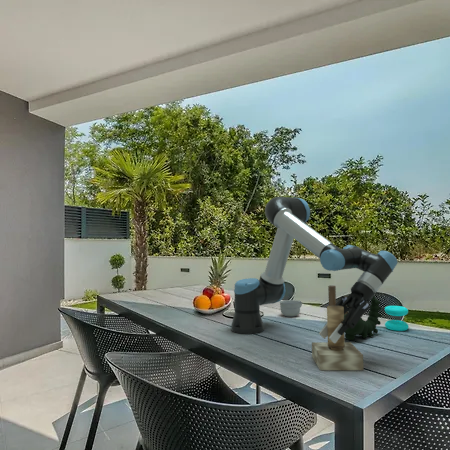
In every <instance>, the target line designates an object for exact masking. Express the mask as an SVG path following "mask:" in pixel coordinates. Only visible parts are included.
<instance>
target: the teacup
mask: <svg viewBox="0 0 450 450" xmlns="http://www.w3.org/2000/svg"><path fill="white" fill-rule="evenodd" d="M279 304H280V305H279V306H280V307H279V308H280V313H281V314H282V315H283V317H286V318H288V317H289V318H291V317H292V318H293V317H297V316H298V315H299V314H300V312H301V307H302V304H303V301H302V300H300V299H299V300H295V299H289V300H287V299H286V300H281V301H279Z"/></svg>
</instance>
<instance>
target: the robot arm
mask: <svg viewBox="0 0 450 450" xmlns="http://www.w3.org/2000/svg"><path fill="white" fill-rule="evenodd" d="M264 214H265V217H266V219H267V221H269V223H270V224H271V225H273V226H274V227H275V228H277V229H276V231H275V235H274V239H273V243H272V247H271V249H270V253H269V257H268V260H267V263H266V267H265V270H264V271H263V272H261V274H260V277H259V278H255V277H254V278H253V277H250V278H249V277H248V278H242V279H239V280H237V281H235V284H234V289H233V292H234V315H233V318H232V321H231V325H230V326H231V328H230V329H231V331H232V332H234V333H236V334H244V335H246V334H247V335H248V334H249V335H252V334H253V335H254V334H258V333H262V332H264V329H265V328H264V321H263V320H262V316H261V313H260V306H263V305H271V304H272V305H273V304H276V303H280V301H283V299H284V298H285V296H286V292H287V291H286V290H287V289H286V284H285V280H284V278H283V275H284V272H285V268H286V265H287V262H288V258H289V257H290V253H291V249H292V246H293V243H294V240H296V242H298V243H300V245H302V246H304V247H305V248H306V250H308V251H309V252H310V253H312V254H313V255H314V256H315V257H317V258H318V259H319V262H320V264H321V266H322V267H323V269H324V270H325V271H326V270H327V271H328V272H330V271H333V272H338V271H343V270H344V271H345V270H350V269H357V270H360V271H362V273H361V275H360V276H359V277H358V278H357V281H355V282H354V284H353V285H352V286H351V287H350V292H351V293H349V294H348V295H347V296H348V297H344V296H345V295H341V296H340V298H339V299H340V300H339V299H338V301H339V302H338V301H337V302H338V303H337V302H336V303H337V304H336V305H335V306H342V307H344V314H345V313H346V312H347V311H348V313H347V315H346V317H345V319H344V321H341V323H342V324H343V325H342V324H341V323H340V324H339V325H338V327H337V328H336V329H335V331H334V332H333V333H332V334H331V336H330V337H329V339H330V340H331V341H332V342H333V343H336V342H337V341H338V339H339V338H340V337H341V335H343V334H344V335H345V331H346V330H347V329H348V328H354V327H355V325H356V324H357V323H358V321H359V320H360V318H363V316H364V314H365V313H366V311H368V310H370V306H371V305H369V303H371V299H372V298H373V296H375V294H376V293H377V292H378V290H379V289H380V288H381V287H382V285H383V284H384V282H386V280H387V279H388V278H389V276H390V275H391V273H393V272H394V270H395V268H396V267H397V264H398V260H397V257H396V256H395V255H394V254H393V253H392V252H389V251H387V250H380V251H378V253H372V252H370V251H367V250H365V249H363V248H360V247H358V246H356V245H352V244H347V245H345V246H344V247H343V248H339V247H338V246H337V245H335V244H334V243H333V242H331V241H330V240H329V239H327V238H326V237H324V236H323V235H322V234H321V233H319V232H317V231H316V230H315V229H314V228H312V227H311V226H310V225H308V224H307V223H306V222H307V221H309V219H310V216H311V208H310V206H309V204H308V202H307V201H306V200H305V199H303V198H301V197H300V198H299V197H295V196H294V197H291V196H290V197H286V196H276V197H273V198H271V199H270V200H269V201H268V202H267V203H266V205H265V209H264ZM346 305H347V306H348V307H347V306H346ZM352 323H353V324H352ZM318 334H319V335H320V336H321V337H322V338H323V339H326V338H328V330H327V322H326V323H325V324H324V326H323V327H322V328H321V330H320V331H319V332H318Z"/></svg>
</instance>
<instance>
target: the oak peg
mask: <svg viewBox="0 0 450 450" xmlns="http://www.w3.org/2000/svg"><path fill="white" fill-rule="evenodd" d="M341 321H344V307H342V306H335V305H332V306H329V305H327V306H326V323H327V330H328V335H327V342H328V346H329V347H331V350H342V348H344V347H345V342H346V340H345V339H346V338H345V333H344V334H343V335H341V337H340V338H339V339H338V341H337V342H336V343H333V342H332V341H331V340H330V339H329V337H330V336H331V334H332V333H333V332H334V331H335V329H336V328H337V327H338V325H339V324H340V323H341ZM341 324H342V323H341ZM342 325H343V324H342Z"/></svg>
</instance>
